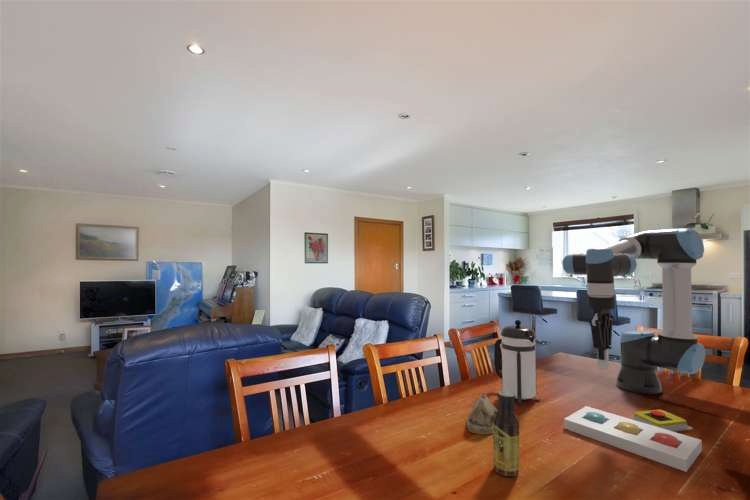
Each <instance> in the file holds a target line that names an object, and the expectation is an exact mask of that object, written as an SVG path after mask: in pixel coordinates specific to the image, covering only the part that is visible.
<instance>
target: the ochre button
mask: <svg viewBox="0 0 750 500" xmlns="http://www.w3.org/2000/svg"><path fill="white" fill-rule="evenodd" d="M618 430H621V431H624V432H627V433H630V434H633V435H636V436H637V435H638V434H639V427H638V426H637V425H635V424H633V423H629V422H619V423H618Z"/></svg>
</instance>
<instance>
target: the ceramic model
mask: <svg viewBox="0 0 750 500" xmlns="http://www.w3.org/2000/svg"><path fill="white" fill-rule="evenodd" d="M497 412H498V409H497V407H496V406H495V404H493V402H492V401H491V400H490V399H489V398H488V397H487V395H486V393H481V394H480V396H479V398H478V399H477V400H476V401H475V402H473V403H472V406H471V410H470V413H469V415H468V416H467V417H466V428H468V429H467V430H468V431H469V432H470V431H471V432H470V433H474V434H478V435H490V434H493V424H494V420H495V417H496V415H497Z"/></svg>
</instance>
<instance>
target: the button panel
mask: <svg viewBox="0 0 750 500" xmlns="http://www.w3.org/2000/svg"><path fill="white" fill-rule="evenodd" d="M587 412H596V413H599V414H602V415H604V416H605V423H603V424H599V423H596V422H593V421H590V420H587V419H586V413H587ZM619 422H629V423H633V424H635V425H637V426H638V427H639V434H638V435H637V436H636V435H633V434H630V433H627V432H624V431H621V430H618V423H619ZM563 428H564V430H567V429H568V431H570V432H574V433H577V434H578V435H579V434H580V435H582V436H584V437H588V438H590V439H593V440H595V441H598V442H601V443H605V444H608V445H610V446H613V447H616V448H619V449H621V450H624V451H626V452H630V453H632V454H635V455H638V456H640V457H644V458H646V459H649V460H651V461H654V462H657V463H660V464H663V465H665V466H668V467H672V468H675V469H676V470H680V471H683V472H686V473H687V472H688V470H689V469H690V468H691V467H692V465H693V464H694V463H695V461H696V459H697V458H698V457H699V456H700V454H701V453H702V451H703V444H702V443H703V442H702V439H699V438H697V437H692V436H689V435H685V434H683V433H678V432H677V431H674V432H673V431H669V430H666V429H662V428H659V427H656V426H652V425H649V424H646V423H642V422H639V421H635V420H634V419H631V418H628V417H625V416H622V415H618V414H614V413H611V412H608V411H604V410H601V409H597V408H593V407H591V406H588V405H585V406H583V407H582V408H581V409H579V410H577V411H575V412H573V413H571V414H570V415H568V416H566V417H564V418H563ZM655 433H665V434H669V435H672V436H674V437H676V438H677V439H678V447H677V448H673V447H670V446H667V445H664V444H661V443H658V442H655Z"/></svg>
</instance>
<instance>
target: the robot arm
mask: <svg viewBox="0 0 750 500" xmlns="http://www.w3.org/2000/svg"><path fill="white" fill-rule="evenodd" d="M703 241H704V240H703V239H702V236H701V234H700V233H699V232H698V231H697V230H696V229H695V228H690V227H689V228H686V227H685V228H684V227H683V228H682V227H678V228H667V229H656V230H655V229H652V230H644V231H639V232H636V233H633V234H630V235H627V236H625V237H622V238H620V239H619V240H617V242H612V243H611V244H607V245H603V246H601V247H597V248H588V249H587V250H586V251H585V252H582V253H579V254H578V253H576V254H575V253H571V254H567V255H565V256H564V257H563V259H562V268H563V271H564V272H565V273H566V274H569V275H575V276H576V275H578V276H579V275H580V276H582V275H583V276H586V285H585V288H586V289H587V290H586V291H587V295H588V296H587V298H586V299H587V307H588V308H589V309H592V310H593V311H592V318H591V319H588V321H589V325H590V330H591V337H592V344H593V348H594V349H596V350H597V351H596V352H597V353H596V354H597V356H596V357H597V369H598V370H603V371H609V370H610V361H609V360H610V358H609V357H610V356H609V354H610V353H609V350H612V340H613V339H612V336H613V321H614V315H611V311H610V310H614V309H615V308H616V300H615V299H616V298H615V297H614V296H615V293H616V291H615V277H625V276H628V275H629V276H630V275H632V274H633V273H634V272H635V270H636V268H637V265H638V264H637V261H636V260H643V259H644V260H645V259H646V260H657V262H656V263H657V265H658V266H659V267H660V268H662V269H661V271H662V272H661V273H662V274H661V276H662V277H661V279H662V283H661V284H662V329H661V331H659V332H657V336H656V334H655V332H654V331H650V330H631V331H624V332H622V333H621V334H620V342H619V344H620V347H619V348H620V368H619V371H618V374H617V377H616V380H615V381H616V386H617V387H619V388H621V389H623V390H625V391H627V392H632V393H637V394H641V395H642V394H643V395H658V394H659V395H660V394H661V393H662V389H663V388H662V384H661V381H660V379H659V378H660V377H659V376H658V374H657V371H656V369H657V368H662V369H665V370H670V371H674V372H678V373H680V374H681V373H682V374H689V375H693V374H696V373H698V372H699V371H700V370H701V369H702V367H703V366H704V363H705V360H706V349H705V345H703V344H702V343H700V342H698V336H697V335H695V334H694V333H693V310H692V309H693V307H692V306H693V304H692V303H693V301H692V295H693V294H692V293H693V291H692V268H693V267H695V266H696V265H697V260H700V259H702V258H703V256H704V253H705V247H704V242H703Z"/></svg>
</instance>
